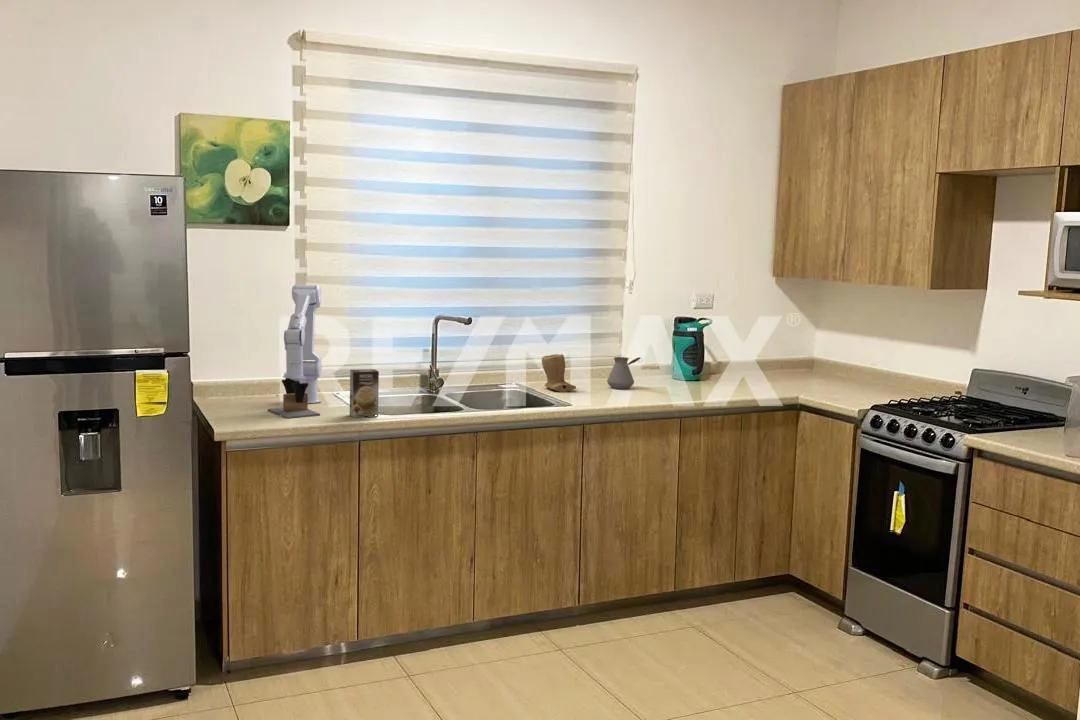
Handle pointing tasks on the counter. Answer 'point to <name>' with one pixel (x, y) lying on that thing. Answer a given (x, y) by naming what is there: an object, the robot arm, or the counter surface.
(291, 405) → the slab
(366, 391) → the coffee box
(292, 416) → the mat
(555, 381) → the brown suede boot
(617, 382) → the coffee pot
